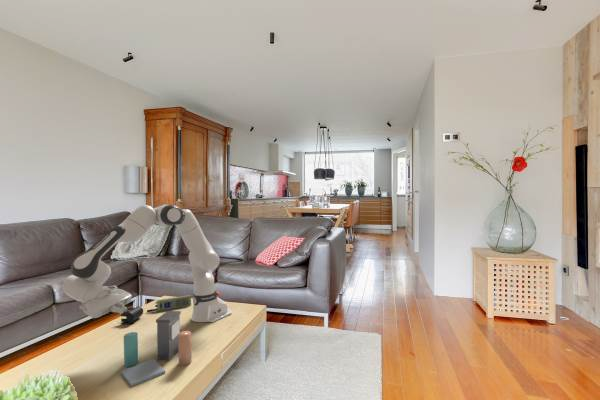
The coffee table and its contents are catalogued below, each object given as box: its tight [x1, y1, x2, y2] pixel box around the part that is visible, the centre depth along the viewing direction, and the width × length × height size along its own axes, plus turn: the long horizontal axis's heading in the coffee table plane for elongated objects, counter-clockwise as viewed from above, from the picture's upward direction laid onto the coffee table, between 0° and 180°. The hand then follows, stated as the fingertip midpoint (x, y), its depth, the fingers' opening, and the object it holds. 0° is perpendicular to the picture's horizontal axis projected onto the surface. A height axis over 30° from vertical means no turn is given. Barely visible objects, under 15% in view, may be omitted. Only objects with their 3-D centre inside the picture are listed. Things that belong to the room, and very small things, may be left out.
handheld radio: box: [146, 294, 192, 313], centre depth 190 cm, size 7×3×25 cm
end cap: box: [120, 305, 144, 325], centre depth 172 cm, size 10×7×7 cm
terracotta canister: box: [177, 330, 192, 366], centre depth 128 cm, size 5×5×12 cm
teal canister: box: [123, 331, 139, 368], centre depth 127 cm, size 5×5×12 cm
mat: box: [120, 359, 166, 387], centre depth 120 cm, size 12×12×1 cm
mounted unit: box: [155, 310, 182, 362], centre depth 134 cm, size 10×6×17 cm, turn 176°
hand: (124, 310), depth 130 cm, fingers closed
